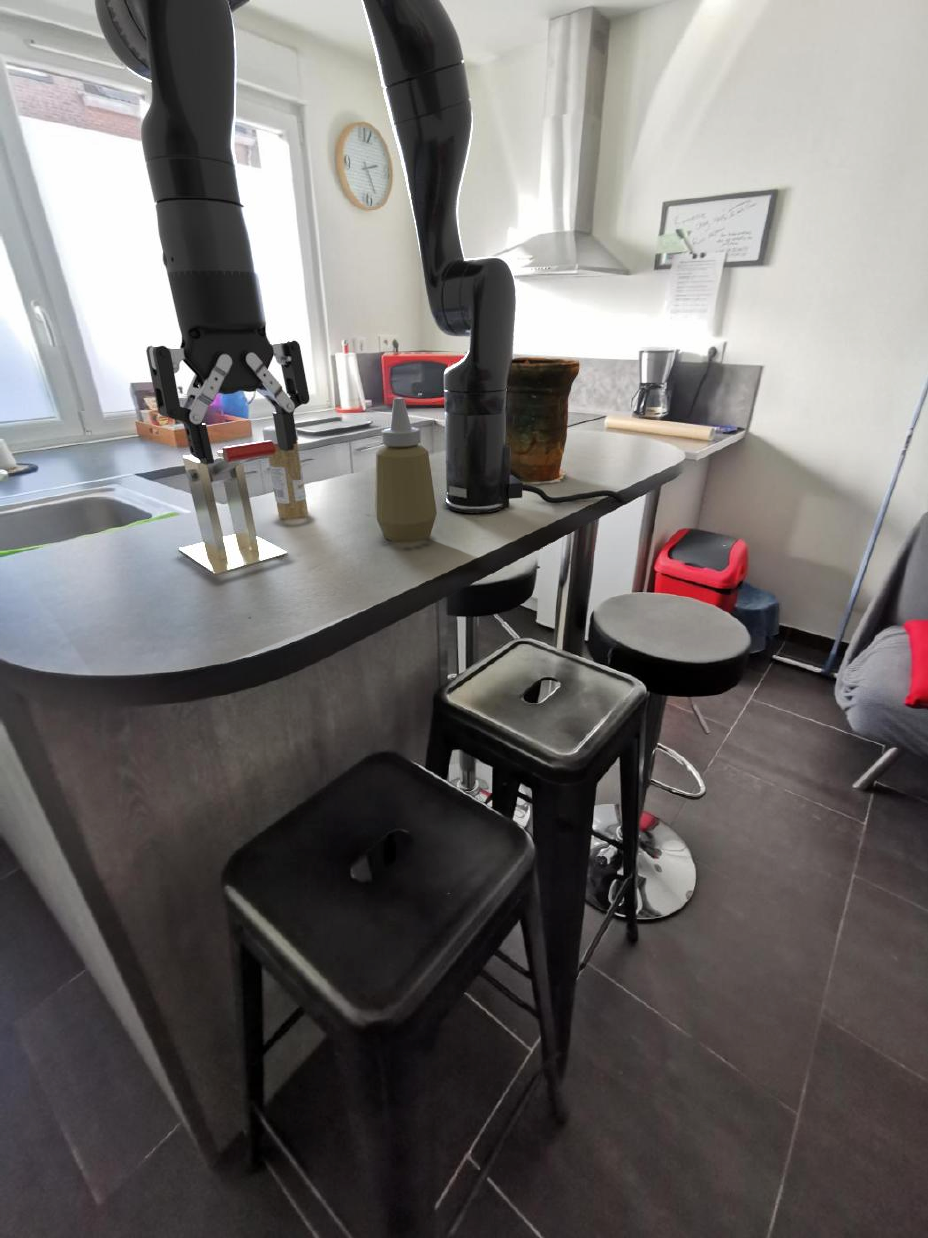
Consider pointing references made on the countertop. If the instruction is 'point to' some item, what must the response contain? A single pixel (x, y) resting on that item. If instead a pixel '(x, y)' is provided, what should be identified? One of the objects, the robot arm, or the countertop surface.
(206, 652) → the countertop surface
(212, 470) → the lever
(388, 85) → the robot arm
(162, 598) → the countertop surface
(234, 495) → the metal stand
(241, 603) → the countertop surface
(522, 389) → the vessel
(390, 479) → the squeeze bottle
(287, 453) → the sprinkles bottle
